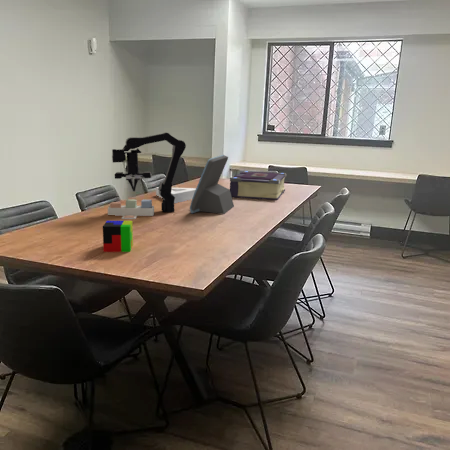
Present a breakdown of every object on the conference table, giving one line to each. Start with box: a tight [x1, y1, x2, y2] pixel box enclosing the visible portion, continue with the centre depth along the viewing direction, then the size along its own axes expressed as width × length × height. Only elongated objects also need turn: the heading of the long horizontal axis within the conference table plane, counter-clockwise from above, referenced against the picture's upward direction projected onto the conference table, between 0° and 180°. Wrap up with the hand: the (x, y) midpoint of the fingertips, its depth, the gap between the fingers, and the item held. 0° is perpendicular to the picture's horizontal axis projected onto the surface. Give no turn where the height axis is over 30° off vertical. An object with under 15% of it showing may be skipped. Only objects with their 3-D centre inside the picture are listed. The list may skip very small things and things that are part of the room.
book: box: [229, 170, 287, 201], centre depth 323 cm, size 33×45×14 cm
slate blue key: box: [140, 199, 153, 208], centre depth 246 cm, size 5×5×5 cm
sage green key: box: [125, 198, 138, 208], centre depth 245 cm, size 5×5×5 cm
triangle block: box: [155, 186, 197, 204], centre depth 298 cm, size 30×26×6 cm
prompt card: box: [121, 216, 138, 220], centre depth 238 cm, size 7×6×1 cm
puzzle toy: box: [102, 220, 134, 253], centre depth 182 cm, size 10×10×10 cm
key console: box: [107, 204, 155, 217], centre depth 246 cm, size 23×7×4 cm, turn 94°
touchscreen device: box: [189, 154, 235, 215], centre depth 263 cm, size 35×20×30 cm, turn 166°
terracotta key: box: [109, 201, 122, 208], centre depth 245 cm, size 5×5×5 cm
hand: (134, 191), depth 249 cm, fingers closed
